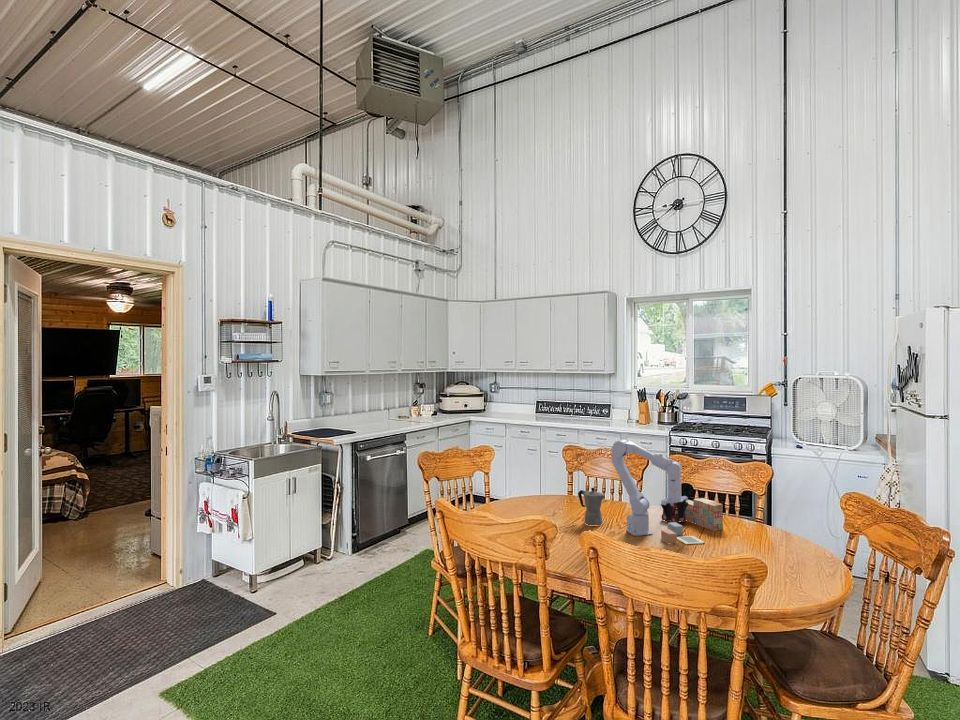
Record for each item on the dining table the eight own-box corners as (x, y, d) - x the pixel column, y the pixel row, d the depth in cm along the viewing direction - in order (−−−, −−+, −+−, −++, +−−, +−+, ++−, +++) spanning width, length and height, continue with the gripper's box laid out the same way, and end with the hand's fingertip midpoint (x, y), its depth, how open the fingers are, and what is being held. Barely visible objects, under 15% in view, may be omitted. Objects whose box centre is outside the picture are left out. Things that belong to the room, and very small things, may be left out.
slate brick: (675, 536, 231) (674, 526, 231) (667, 532, 237) (667, 522, 237) (682, 535, 232) (682, 526, 232) (675, 531, 238) (675, 522, 238)
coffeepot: (610, 524, 249) (609, 488, 249) (599, 529, 242) (599, 491, 243) (584, 518, 260) (583, 483, 260) (573, 522, 254) (572, 486, 254)
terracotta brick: (668, 544, 221) (668, 534, 221) (661, 539, 227) (661, 529, 227) (676, 543, 222) (676, 533, 222) (669, 539, 228) (669, 529, 228)
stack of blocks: (679, 519, 257) (679, 494, 257) (688, 517, 260) (688, 493, 260) (713, 531, 237) (713, 505, 238) (723, 529, 240) (722, 503, 240)
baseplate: (686, 545, 219) (685, 543, 219) (674, 538, 228) (674, 537, 228) (704, 543, 221) (704, 542, 221) (692, 537, 230) (692, 535, 230)
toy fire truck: (680, 526, 245) (680, 504, 245) (658, 520, 256) (658, 499, 256) (688, 523, 249) (688, 502, 249) (667, 517, 259) (666, 497, 260)
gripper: (669, 492, 222) (670, 523, 222) (692, 488, 228) (693, 518, 228) (657, 489, 228) (658, 519, 228) (680, 485, 235) (680, 514, 234)
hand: (674, 518), depth 228 cm, fingers open, 7 cm apart
